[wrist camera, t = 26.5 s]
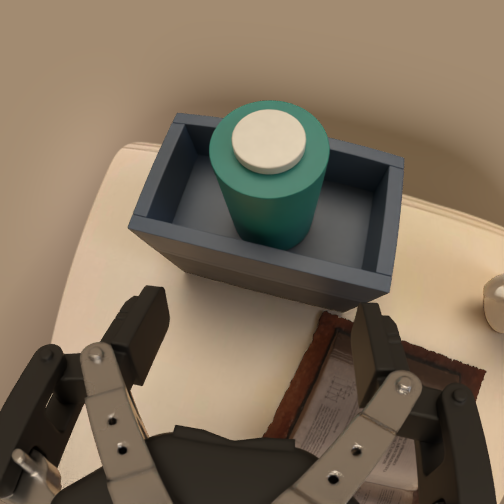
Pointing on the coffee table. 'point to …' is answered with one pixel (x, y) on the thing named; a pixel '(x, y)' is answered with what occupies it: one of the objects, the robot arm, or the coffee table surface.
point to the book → (357, 406)
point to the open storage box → (267, 258)
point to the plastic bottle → (270, 170)
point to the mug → (495, 302)
